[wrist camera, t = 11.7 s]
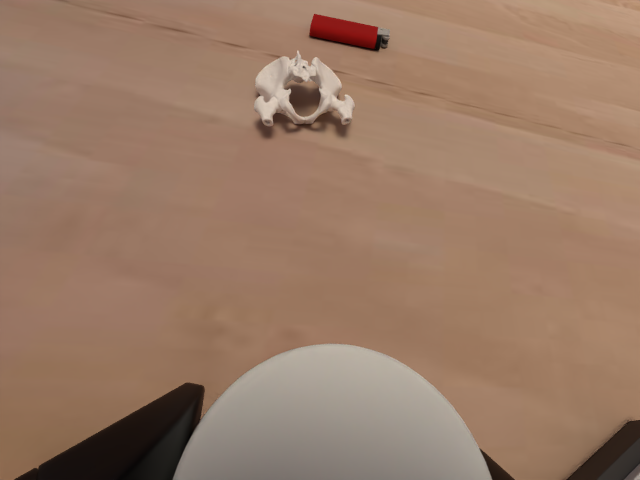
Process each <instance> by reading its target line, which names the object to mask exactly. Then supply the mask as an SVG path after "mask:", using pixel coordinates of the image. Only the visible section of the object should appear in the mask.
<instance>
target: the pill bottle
mask: <svg viewBox="0 0 640 480" xmlns="http://www.w3.org/2000/svg"><path fill="white" fill-rule="evenodd" d="M173 480H492V478H491V475H490V472H489V470H488V467H487V464H486V462H485V459H484V457H483V455H482V453H481V451H480V449H479V447H478V445H477V443H476V441H475V439H474V438H473V436H472V434H471V432H470V430H469V429H468V427H467V426H466V424H465V423H464V421H463V419H462V418H461V417H460V415H459V414H458V413H457V411H456V410H455V409H454V407H453V406H452V405H451V404H450V403H449V401H448V400H447V399H446V398H445V397H444V396H443V395H442V394H441V393H440V392H439V391H438V390H437V389H436V388H435V387H434V386H433V385H432V384H431V383H429V382H428V381H427V380H426V379H424V378H423V377H422V376H421V375H419V374H418V373H417V372H415V371H414V370H412V369H411V368H409V367H408V366H406V365H405V364H403V363H401V362H400V361H398V360H396V359H394V358H392V357H390V356H388V355H385V354H383V353H380V352H377V351H374V350H371V349H367V348H363V347H359V346H354V345H345V344H319V345H311V346H305V347H300V348H296V349H292V350H289V351H286V352H283V353H281V354H278V355H276V356H274V357H272V358H270V359H267V360H266V361H264V362H262V363H260V364H259V365H257V366H255V367H254V368H252V369H251V370H249V371H248V372H246V373H245V374H243V375H242V376H241V377H239V378H238V379H237V380H236V381H235V382H234V383H233V384H232V385H231V386H230V387H229V388H228V389H227V390H226V391H225V392H224V393H223V394H222V395H221V396H220V397H219V398H218V399H217V400H216V401H215V402H214V404H213V405H212V406H211V407H210V408H209V410H208V411H207V412H206V414H205V415H204V416H203V418H202V419H201V421H200V422H199V423H198V425H197V426H196V428H195V429H194V431H193V433H192V435H191V437H190V439H189V442H188V444H187V445H186V447H185V450H184V452H183V454H182V457H181V459H180V461H179V463H178V466H177V468H176V471H175V474H174V477H173Z"/></svg>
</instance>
